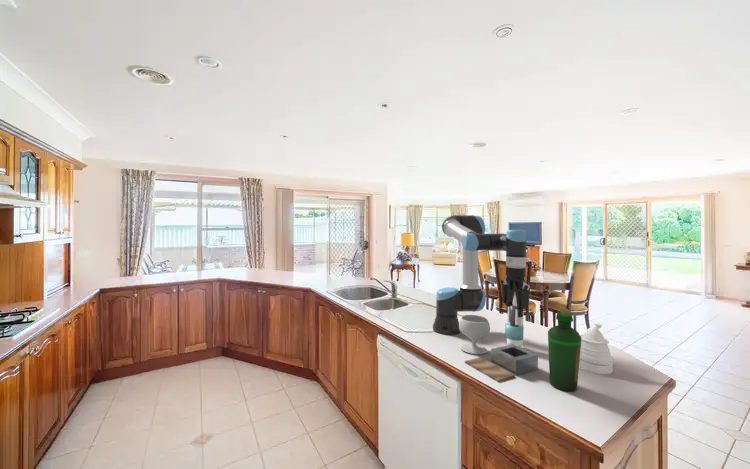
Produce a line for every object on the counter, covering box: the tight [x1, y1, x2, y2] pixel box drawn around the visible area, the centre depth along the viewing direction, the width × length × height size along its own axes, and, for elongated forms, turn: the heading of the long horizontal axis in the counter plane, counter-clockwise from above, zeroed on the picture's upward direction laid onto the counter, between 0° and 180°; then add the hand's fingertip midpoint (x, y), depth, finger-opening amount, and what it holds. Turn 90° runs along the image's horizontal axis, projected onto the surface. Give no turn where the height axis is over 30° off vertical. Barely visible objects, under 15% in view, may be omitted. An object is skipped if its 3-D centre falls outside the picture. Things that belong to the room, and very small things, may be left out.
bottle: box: [547, 308, 581, 392], centre depth 112 cm, size 11×11×28 cm
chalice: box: [459, 314, 491, 355], centre depth 145 cm, size 14×14×15 cm
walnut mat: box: [464, 356, 516, 383], centre depth 125 cm, size 18×9×1 cm, turn 25°
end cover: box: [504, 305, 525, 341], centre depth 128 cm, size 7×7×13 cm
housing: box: [490, 344, 539, 377], centre depth 128 cm, size 13×13×6 cm
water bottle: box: [506, 294, 525, 349], centre depth 148 cm, size 7×7×25 cm
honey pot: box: [579, 322, 614, 375], centre depth 128 cm, size 13×13×18 cm
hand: (514, 322), depth 128 cm, fingers closed on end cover, 3 cm apart
